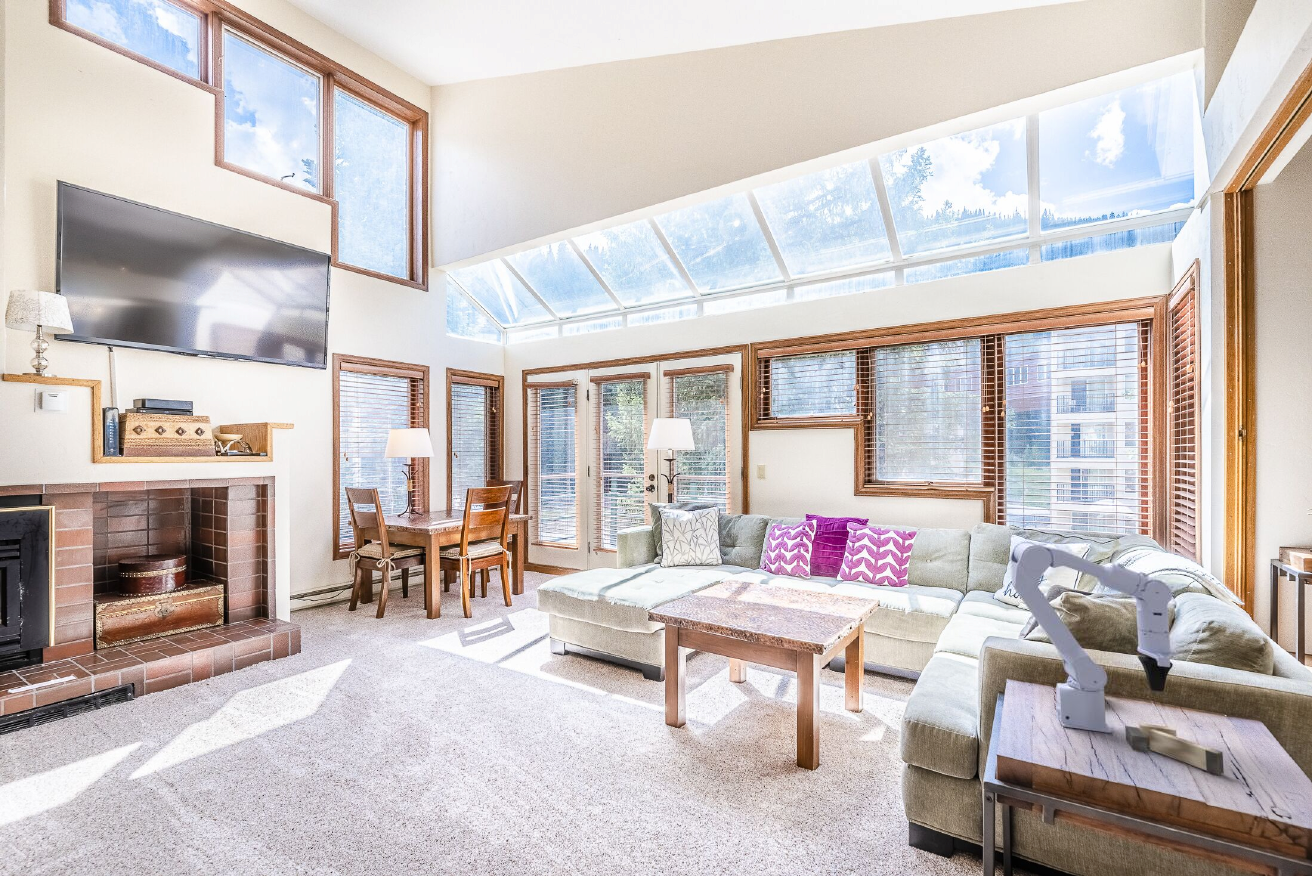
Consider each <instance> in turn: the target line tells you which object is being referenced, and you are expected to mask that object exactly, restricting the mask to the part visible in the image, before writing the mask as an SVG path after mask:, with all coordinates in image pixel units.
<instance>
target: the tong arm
mask: <svg viewBox="0 0 1312 876" xmlns="http://www.w3.org/2000/svg"><path fill="white" fill-rule="evenodd" d="M1149 738H1150V747H1149V750H1151V751H1153V752H1155V753H1158V754H1161V755H1164V756H1167V757H1169V758H1171V759H1172V758H1173V759H1175V760H1178V761H1180V762H1183V763H1185V764H1188V765H1191V766H1194V767H1197V768H1199V769H1202V770H1204V771H1206V772H1209V773H1211V774H1214V775H1217V776H1219V775H1222V774H1224V772H1225V771H1224V770H1225V769H1224V767H1225V766H1224V754H1223V753H1224V752H1223V751H1221V750H1218V749H1215V748H1210V747H1207V746H1204V745H1202V744H1199V743H1196V742H1192V741H1191V740H1187V739H1183V738H1181V737H1177V736H1176V737H1175V736H1173V735H1170V734H1167V733H1164V732H1161V731H1158V730H1155V729H1152V730H1149Z"/></svg>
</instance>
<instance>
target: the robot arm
mask: <svg viewBox="0 0 1312 876" xmlns="http://www.w3.org/2000/svg"><path fill="white" fill-rule="evenodd" d="M1009 561H1010V564H1011V585H1012V587H1013V589H1014V590H1015V592H1016V593H1017V595H1018V596H1019V598H1021V600H1022V602H1023V603H1024V605H1025V606H1026V607H1027V609H1028V610H1029V611H1030V613H1031V615H1033V617H1034V618H1035V620H1036V623H1038V625H1039V626H1040V628H1041V629H1042V630H1043V632H1044V633H1045V634H1046V636H1047V638H1048V639H1049V640H1050V642H1051V644H1053V646H1054V647H1055V649H1056V651H1057V653H1058V656H1059V657H1060V658H1061V660H1062V664H1063V668H1064V671H1065V672H1066V673H1067V675H1068V677H1067V680H1066V682H1065V683H1061V682H1060V683H1059V682H1058V683H1056V688H1055V690H1056V714H1057V715H1056V716H1057V718H1058V719H1059V722H1060V723H1061V726H1062V727H1065V728H1074V729H1080V730H1086V731H1091V732H1092V731H1093V732H1100V733H1107V734H1108V733H1109V734H1112V730H1111V728H1110V727H1109V725H1108V724H1107V720H1106V719H1107V718H1106V702H1105V686H1106V684H1107V682H1108V675H1107V672H1106V670H1105V669H1104V667H1102V666H1101V665H1100V664H1097V663H1096V662H1094V661H1093V659H1091V657H1090V655H1089V654H1088V653H1087V652H1086V651H1085V650H1084V649H1083V647H1082V646H1081V645H1080V644H1079V642H1078V641H1077V639H1076V638H1075V637H1074V635H1073V634H1072V632H1071V631H1070V630H1069V628H1068V627H1067V625H1066V624H1065V623H1064V622H1063V619H1061V617H1060V616H1059V614H1058V613H1057V612H1056V610H1055V608H1053V606H1052V604H1051V603H1050V602H1049V600H1048V599H1047V598H1046V595H1044V593H1043V591H1041V589H1040V588H1039V584H1040V581H1041V578H1042V576H1043V575H1044V573H1045V572H1047V570H1048V568H1053V569H1055V568H1059V567H1060V568H1061V567H1066V568H1069V569H1071V570H1074V571H1077V572H1081V573H1083V574H1086V575H1089V576H1092V577H1095V578H1096V579H1097V581H1098V582H1099V584H1100V585H1101V586H1103V587H1106V588H1108V589H1112V590H1114V591H1116V592H1119V593H1121V594H1124V595H1127V596H1130V597H1134V598H1135V601H1136V621H1137V622H1136V624H1137V640H1138V645H1137V652H1139V654H1140V653H1141V654H1142V655H1137V658H1138V660H1139V661H1140V664H1141V665H1142V667H1143V670H1144V673H1145V676H1146V680H1147V683H1148V686H1149V689H1150V690H1151V691H1153V692H1154V691H1155V692H1161V693H1163V692H1164V690H1165V685H1166V682H1167V677H1168V675H1169V672H1171V671H1170V670H1171V669H1172V667H1173V666H1174V665H1173V662H1171V660H1170V659H1171V657H1172V656H1178V652H1177V651H1176V650H1173V649H1171V642H1170V639H1171V638H1170V623H1169V611H1168V607H1169V606H1168V604H1169V603H1170V602H1171V600H1172V598H1173V595H1174V594H1173V592H1171V590H1170V588H1169V585H1167V583H1166V582H1164V581H1162V580H1159V579H1156V578H1154V577H1150V576H1149V575H1148V574H1147V573H1146V572H1143V571H1139V572H1136V571H1135V570H1134V571H1133V570H1131V569H1129V568H1125V565H1124V564H1122V563H1119V562H1115V564H1114V563H1112V562H1108V563H1106V564H1098V563H1096V562H1093V561H1090V560H1088V559H1085V558H1083V557H1080V556H1078V555H1076V554H1072V553H1070V552H1067V551H1065V550H1062V549H1059V548H1056V547H1051V546H1047V545H1043V544H1035V543H1033V542H1031V541H1021V542H1019V543H1017V544H1016V545H1014V547H1013V550H1012V551H1011V554H1010V557H1009Z"/></svg>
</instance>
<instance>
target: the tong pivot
mask: <svg viewBox="0 0 1312 876" xmlns="http://www.w3.org/2000/svg"><path fill="white" fill-rule="evenodd" d="M1138 724H1139V725H1138V726H1139V727H1135V726H1131V725H1130V726H1128V725H1125V726H1124V728H1125V741H1126V742H1127V744H1128V745H1129V746H1130V748H1131V749H1132V750H1133V751H1139V752H1145V753H1146V752H1147V750H1148V749H1147V748H1150V738H1149V730H1152V729H1155V730H1158V731H1161V732H1164V733H1167V734H1170V735H1173V736H1175V737H1177V730H1176V729H1175V728H1174V727H1172V726H1166V725H1165V726H1164V725H1157V724H1148V723H1143V722H1142V723H1141V722H1139V723H1138Z"/></svg>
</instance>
